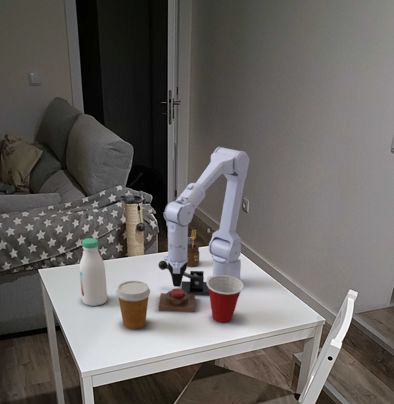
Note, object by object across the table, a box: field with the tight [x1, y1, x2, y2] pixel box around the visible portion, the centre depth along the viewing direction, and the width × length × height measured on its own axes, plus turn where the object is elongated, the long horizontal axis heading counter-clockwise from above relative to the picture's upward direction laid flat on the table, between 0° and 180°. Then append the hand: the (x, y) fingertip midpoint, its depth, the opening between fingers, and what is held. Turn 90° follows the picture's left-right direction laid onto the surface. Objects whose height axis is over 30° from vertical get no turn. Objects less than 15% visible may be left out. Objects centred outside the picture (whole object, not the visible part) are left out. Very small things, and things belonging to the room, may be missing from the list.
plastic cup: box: [206, 275, 245, 324], centre depth 145 cm, size 11×11×12 cm
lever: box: [157, 260, 200, 279], centre depth 161 cm, size 15×3×3 cm, turn 90°
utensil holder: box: [187, 229, 200, 267], centre depth 180 cm, size 6×6×12 cm
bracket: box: [180, 270, 210, 297], centre depth 163 cm, size 10×8×6 cm
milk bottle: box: [79, 237, 108, 307], centre depth 150 cm, size 8×8×20 cm
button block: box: [158, 290, 196, 313], centre depth 154 cm, size 11×9×4 cm
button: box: [170, 287, 184, 298], centre depth 153 cm, size 4×4×2 cm
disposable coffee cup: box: [115, 280, 151, 331], centre depth 140 cm, size 10×10×12 cm
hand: (177, 285), depth 151 cm, fingers closed
